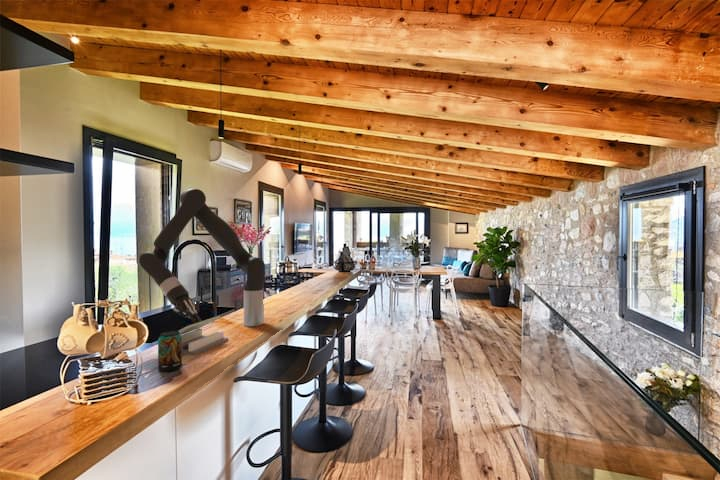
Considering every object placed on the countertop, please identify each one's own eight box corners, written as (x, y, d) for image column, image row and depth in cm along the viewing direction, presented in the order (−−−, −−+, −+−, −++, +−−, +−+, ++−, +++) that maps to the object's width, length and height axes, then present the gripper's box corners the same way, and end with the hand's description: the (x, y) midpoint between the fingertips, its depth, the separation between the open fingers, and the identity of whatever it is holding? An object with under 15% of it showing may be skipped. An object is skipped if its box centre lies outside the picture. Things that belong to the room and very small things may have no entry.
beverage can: (166, 374, 121) (166, 337, 121) (153, 370, 125) (153, 333, 125) (186, 367, 127) (186, 332, 127) (173, 363, 131) (173, 329, 131)
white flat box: (196, 337, 164) (196, 327, 164) (228, 340, 159) (228, 330, 159) (159, 351, 144) (159, 340, 144) (194, 355, 140) (194, 344, 140)
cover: (199, 328, 163) (198, 326, 163) (220, 317, 159) (219, 315, 159) (165, 340, 144) (164, 338, 144) (188, 328, 141) (187, 326, 141)
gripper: (166, 286, 147) (192, 320, 144) (191, 282, 160) (215, 313, 157) (155, 299, 149) (181, 333, 146) (180, 294, 162) (204, 325, 158)
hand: (199, 322), depth 151 cm, fingers closed
